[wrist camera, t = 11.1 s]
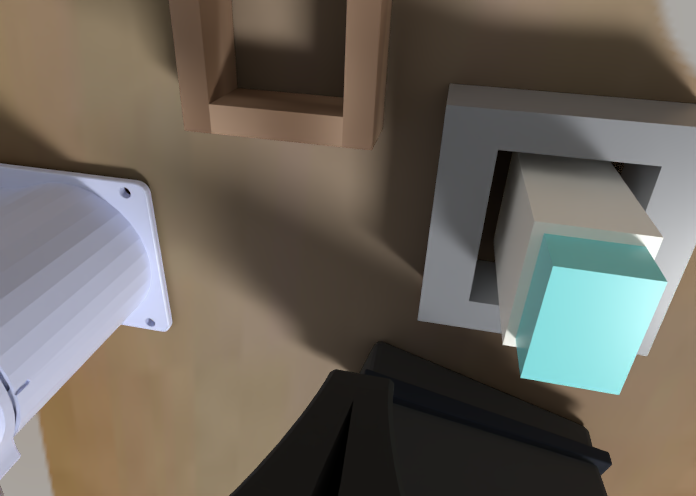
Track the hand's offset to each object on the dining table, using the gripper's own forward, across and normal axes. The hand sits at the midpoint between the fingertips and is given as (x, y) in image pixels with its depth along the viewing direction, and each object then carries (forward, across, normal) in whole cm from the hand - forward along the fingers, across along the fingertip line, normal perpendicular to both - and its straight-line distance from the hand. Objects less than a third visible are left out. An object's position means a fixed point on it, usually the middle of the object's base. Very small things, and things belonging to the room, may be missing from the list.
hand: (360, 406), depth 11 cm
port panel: (+10, -5, -1) cm, 12 cm away
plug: (+10, -5, -1) cm, 12 cm away
